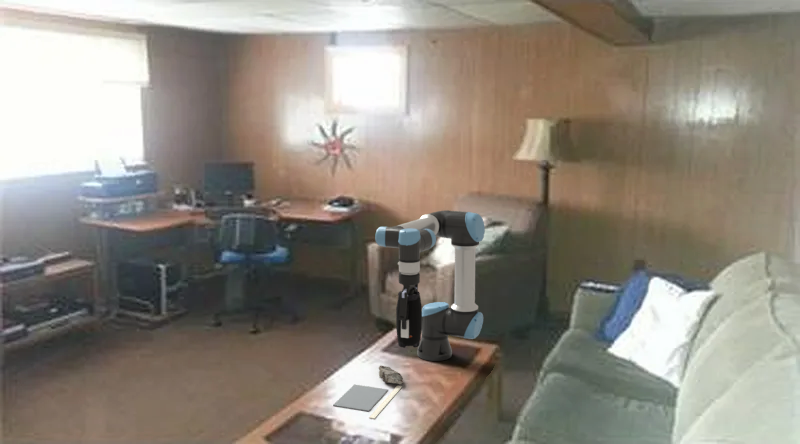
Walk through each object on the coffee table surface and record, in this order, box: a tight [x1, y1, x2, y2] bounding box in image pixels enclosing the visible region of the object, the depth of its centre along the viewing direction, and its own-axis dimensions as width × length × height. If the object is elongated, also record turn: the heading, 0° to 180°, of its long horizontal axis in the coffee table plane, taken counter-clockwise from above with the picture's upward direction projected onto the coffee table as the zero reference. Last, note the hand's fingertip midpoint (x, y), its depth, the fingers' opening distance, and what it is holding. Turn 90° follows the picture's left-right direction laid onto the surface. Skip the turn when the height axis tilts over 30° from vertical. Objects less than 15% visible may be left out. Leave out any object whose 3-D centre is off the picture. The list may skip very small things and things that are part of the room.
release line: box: [368, 385, 403, 420], centre depth 259 cm, size 30×2×1 cm, turn 161°
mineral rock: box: [378, 365, 404, 385], centre depth 278 cm, size 15×8×4 cm, turn 15°
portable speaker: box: [395, 290, 423, 349], centre depth 252 cm, size 9×9×20 cm
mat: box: [332, 384, 389, 412], centre depth 262 cm, size 20×14×1 cm
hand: (408, 333), depth 253 cm, fingers closed on portable speaker, 8 cm apart
